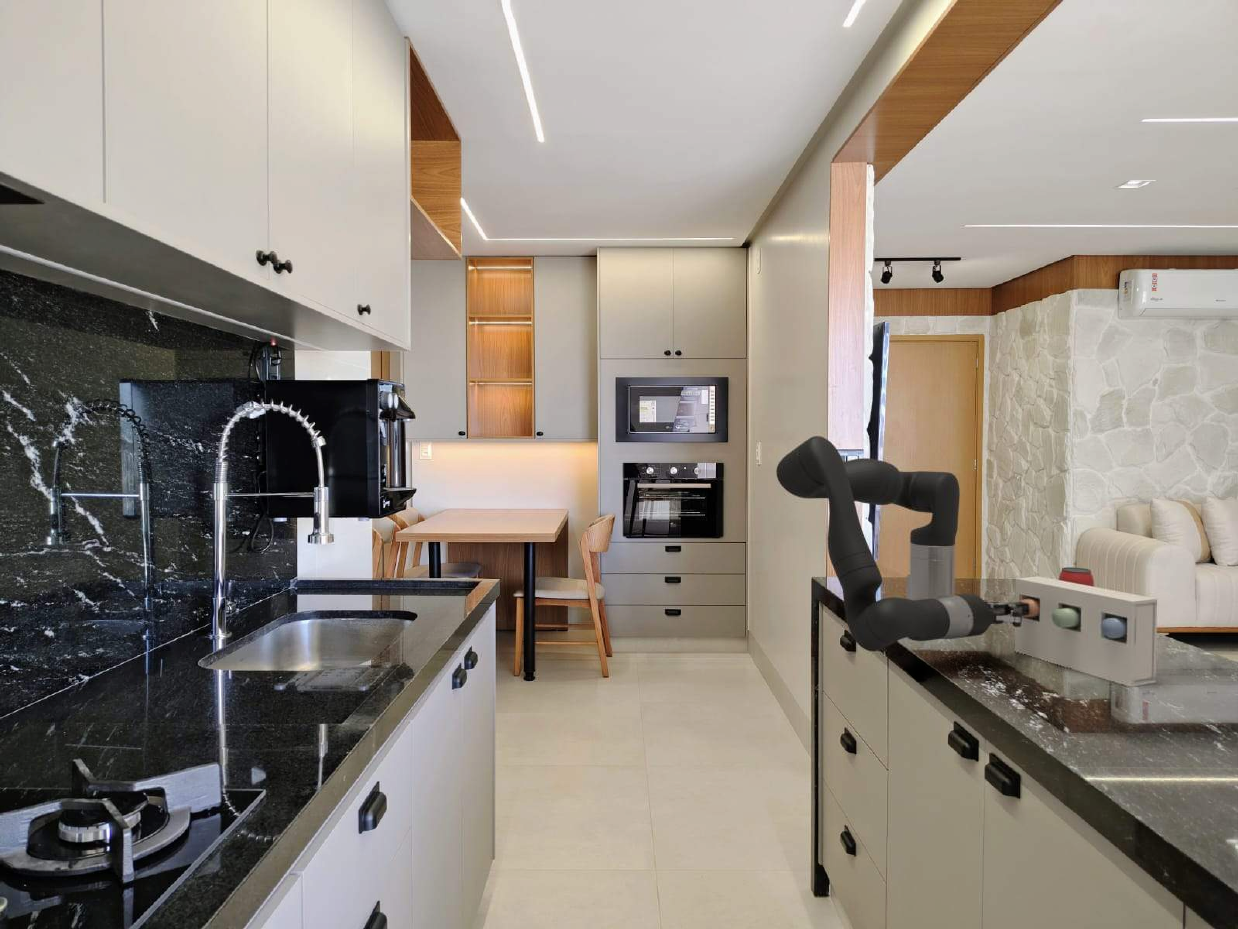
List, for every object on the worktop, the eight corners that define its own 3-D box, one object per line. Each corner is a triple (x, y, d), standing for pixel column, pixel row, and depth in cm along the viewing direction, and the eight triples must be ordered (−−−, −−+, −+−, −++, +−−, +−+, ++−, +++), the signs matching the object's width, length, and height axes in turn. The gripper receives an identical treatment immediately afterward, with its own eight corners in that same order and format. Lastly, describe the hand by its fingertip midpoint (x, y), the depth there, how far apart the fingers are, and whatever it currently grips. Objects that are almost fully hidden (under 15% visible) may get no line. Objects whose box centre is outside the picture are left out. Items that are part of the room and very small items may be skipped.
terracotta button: (1018, 615, 140) (1018, 598, 140) (1032, 613, 142) (1032, 596, 141) (1033, 618, 137) (1033, 601, 137) (1047, 617, 139) (1047, 600, 138)
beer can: (1060, 625, 162) (1061, 570, 162) (1055, 619, 168) (1056, 566, 168) (1096, 628, 159) (1097, 572, 159) (1089, 621, 166) (1090, 567, 165)
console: (1014, 651, 142) (1015, 578, 142) (1037, 648, 144) (1038, 576, 144) (1130, 687, 122) (1132, 601, 121) (1155, 682, 124) (1157, 598, 123)
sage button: (1051, 625, 132) (1052, 607, 132) (1066, 623, 134) (1066, 605, 134) (1068, 629, 129) (1068, 611, 129) (1083, 627, 131) (1083, 609, 131)
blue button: (1100, 635, 125) (1100, 616, 125) (1115, 633, 127) (1115, 615, 127) (1119, 640, 122) (1119, 621, 122) (1134, 638, 124) (1134, 619, 124)
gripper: (985, 603, 126) (1058, 595, 132) (926, 588, 138) (996, 582, 145) (984, 647, 126) (1058, 637, 133) (926, 628, 139) (995, 620, 145)
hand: (1025, 608), depth 139 cm, fingers closed
